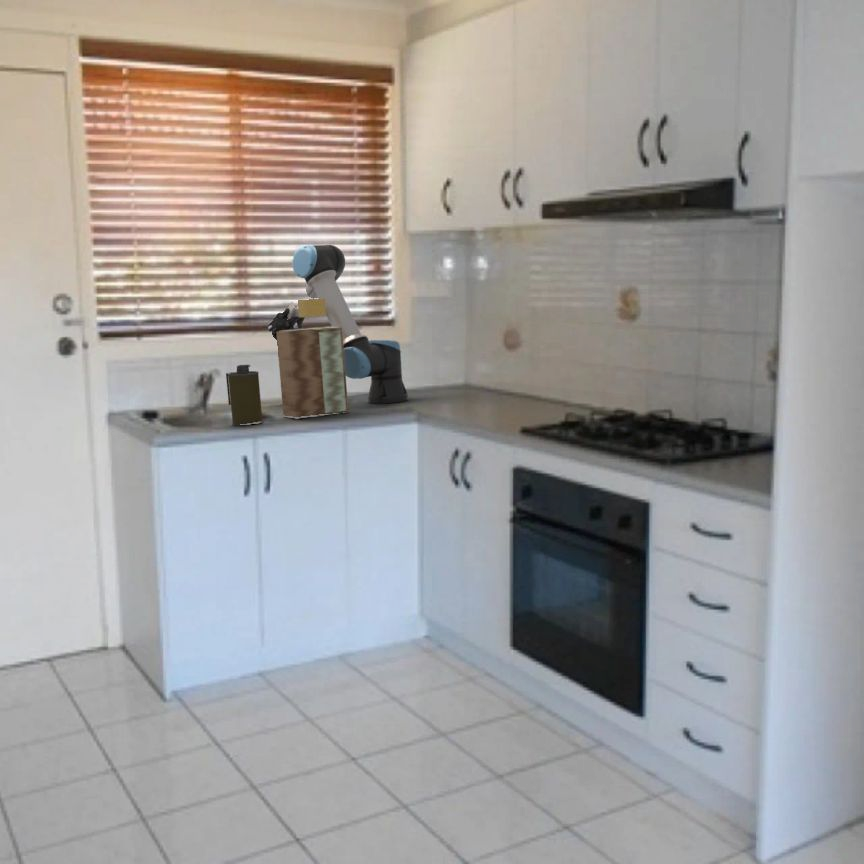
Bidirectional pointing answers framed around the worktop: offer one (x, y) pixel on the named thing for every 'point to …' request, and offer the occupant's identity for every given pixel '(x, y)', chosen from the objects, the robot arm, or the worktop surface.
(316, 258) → the robot arm
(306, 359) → the wood grain box
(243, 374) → the canister
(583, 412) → the worktop surface
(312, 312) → the handle bar
